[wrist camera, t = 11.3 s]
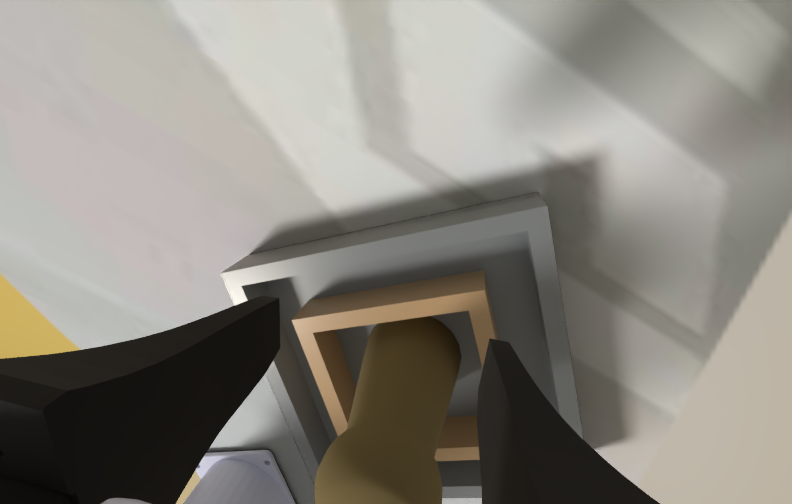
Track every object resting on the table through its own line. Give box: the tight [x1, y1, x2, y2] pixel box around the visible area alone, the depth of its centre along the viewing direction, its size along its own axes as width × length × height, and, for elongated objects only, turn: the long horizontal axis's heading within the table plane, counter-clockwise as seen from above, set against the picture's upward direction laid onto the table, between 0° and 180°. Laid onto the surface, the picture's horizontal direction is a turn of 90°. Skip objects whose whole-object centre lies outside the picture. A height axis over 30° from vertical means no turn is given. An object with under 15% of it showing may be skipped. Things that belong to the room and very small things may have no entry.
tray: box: [220, 192, 584, 498], centre depth 24 cm, size 18×18×3 cm
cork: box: [314, 316, 462, 504], centre depth 19 cm, size 6×6×11 cm
